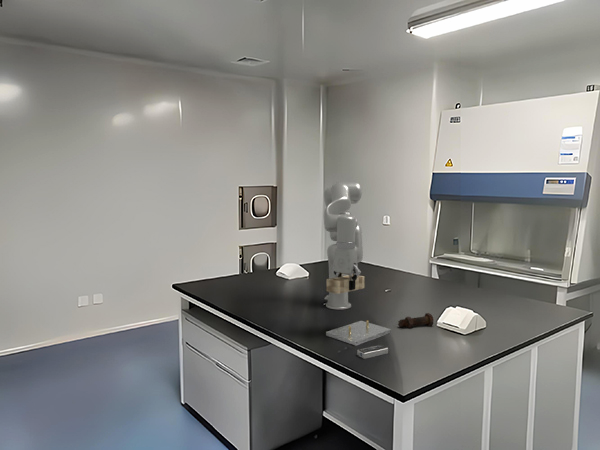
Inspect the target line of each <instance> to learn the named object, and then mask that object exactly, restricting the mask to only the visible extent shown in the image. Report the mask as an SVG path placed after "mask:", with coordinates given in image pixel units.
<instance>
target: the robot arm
mask: <svg viewBox="0 0 600 450" xmlns="http://www.w3.org/2000/svg"><path fill="white" fill-rule="evenodd" d="M362 190H363V189H362V186H361V185H360V183H359V182H356V181H339V182H335V183H333V185H332V186H330V187H327V188H326V189H324V191H323V200H324V204H325V205H324V206H325V208H324V211H323V225H324V229H325V230H326V231H327V232H329V238H330V240H331V241H333V242H336V243H333V244H330V245H329V246H328V247H327V249H326V254H327V260H328V261H327V262H328V279H331V278H336V277H341V276H347V275H349V277H350V281H349V290H354V291H356V290H355V280H357V278H358V277H359V276H361V274H362V271H361V270H360V269H359V267H358V266H359V265H358V263H361V262H362V260H363V256H364V254H363V253H364V250H363V249H364V248H363V235H362V233H363V232H362V231H363V230H362V227H361V225H360V224H359V223H358V218H357V217H356V216H355V215H354V214H346V212H347V211H348V210H350V208H351V205H354V204H355V205H356V204H357V203H359V201H360V200H361V198H362V195H363V191H362ZM352 274H353V277H352ZM324 300H326V301H327V302H326V303H325V308H327V309H331V310H347V309H350V308H352V303H350V302H349V292H344V293H340V294H336V293H332V292H328V294H327V295H326V296H325V297H324Z"/></svg>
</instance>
